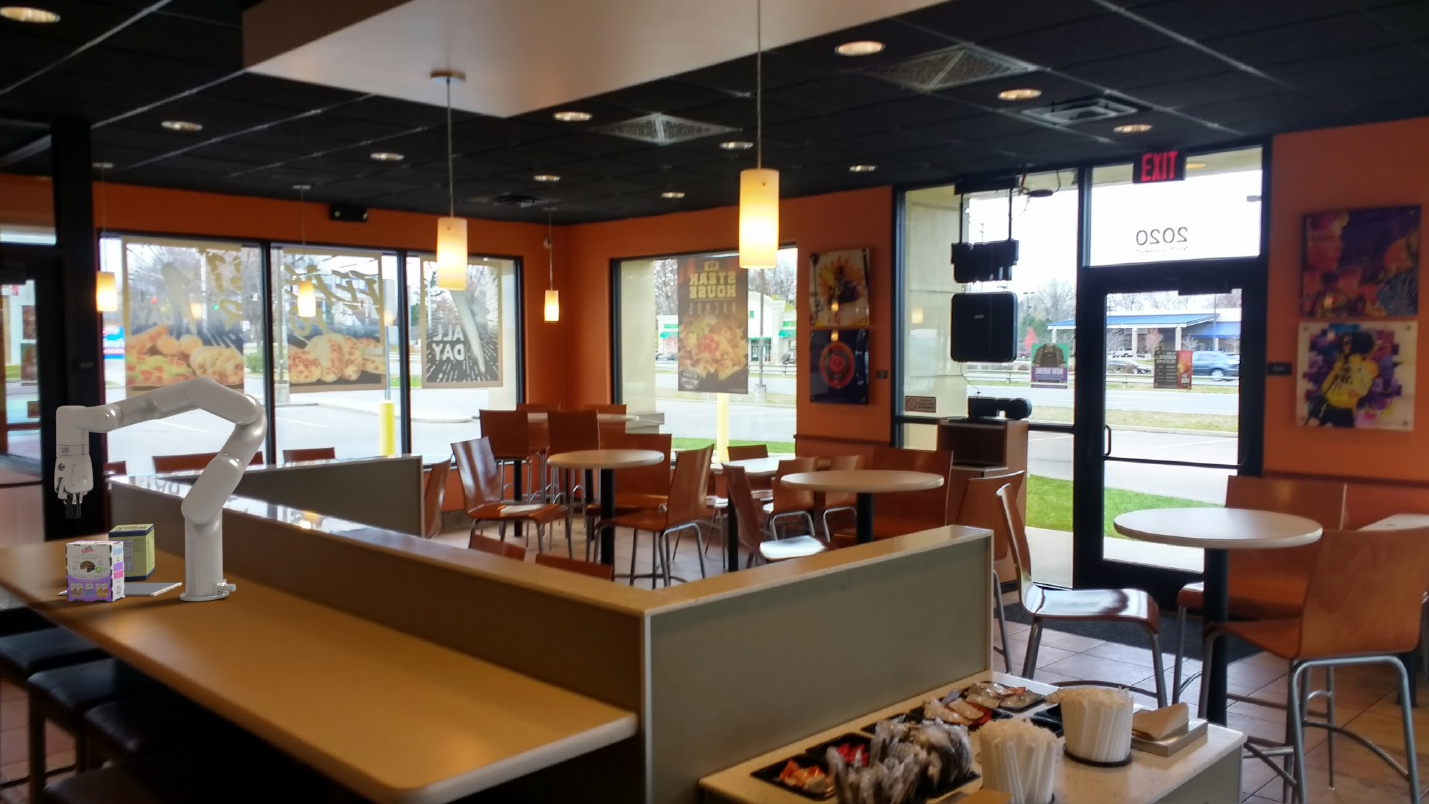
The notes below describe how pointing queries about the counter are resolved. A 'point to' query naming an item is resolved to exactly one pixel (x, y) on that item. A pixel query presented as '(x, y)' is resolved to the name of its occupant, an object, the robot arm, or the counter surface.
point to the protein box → (136, 549)
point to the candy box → (95, 571)
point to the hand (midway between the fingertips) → (73, 517)
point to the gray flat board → (144, 588)
